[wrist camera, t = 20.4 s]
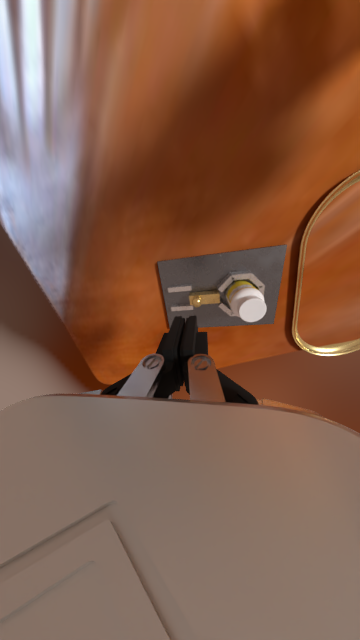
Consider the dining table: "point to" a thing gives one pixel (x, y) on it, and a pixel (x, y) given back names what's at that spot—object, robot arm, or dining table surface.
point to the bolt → (204, 298)
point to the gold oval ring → (322, 350)
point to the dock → (214, 274)
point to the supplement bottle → (245, 301)
